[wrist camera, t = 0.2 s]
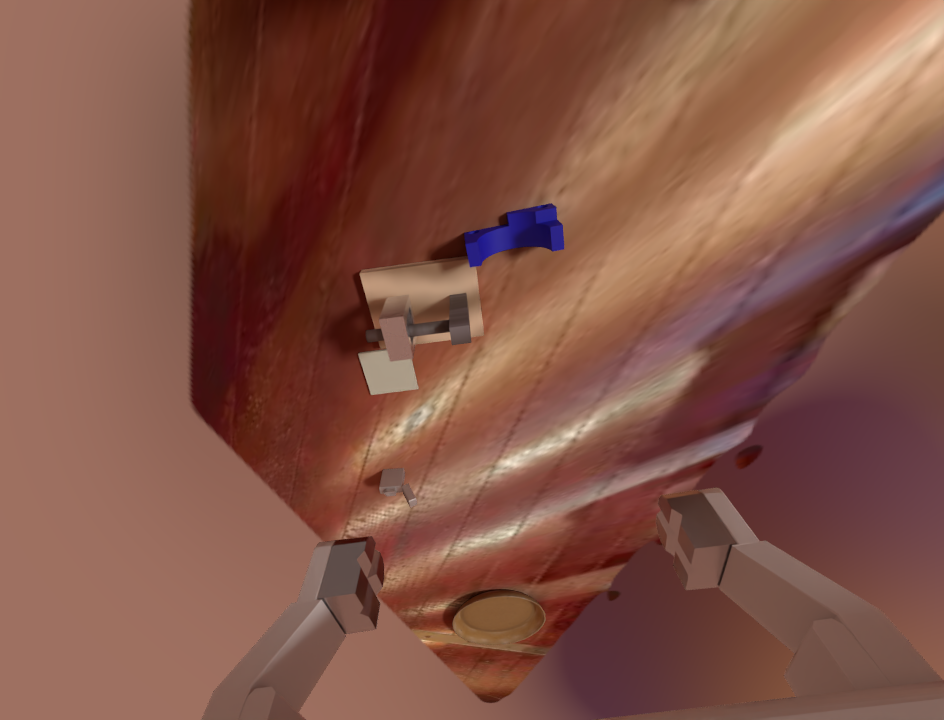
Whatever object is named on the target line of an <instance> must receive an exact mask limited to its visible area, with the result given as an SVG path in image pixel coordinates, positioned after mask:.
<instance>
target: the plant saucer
mask: <svg viewBox="0 0 944 720" xmlns="http://www.w3.org/2000/svg"><path fill="white" fill-rule="evenodd" d="M544 622H545V612H544V610H543V609H542V607H541V606H540V605H539V603H538V602H537V601H535V600H534V599H533V598H531V597H530V596H528V595H526V594H523V593H520V592H517V591H511V590H495V591H489V592H485V593H481V594H479V595H477V596H474V597H473V598H471V599H469V600H468V601H467V602H465V603H464V604H463V605H462V606H461V607H460V608H459V610H458V611H457V613H456V614H455V617H454V619H453V629H454V631H455V633H456V634H457V635H458V636H460V637H461V638H463V639H464V640H466V641H469V642H472V643H476V644H481V645H504V644H510V643H514V642H518V641H521V640H523V639H526V638H528V637H530V636H532V635H533V634H534V633H536V632H537V631H538V630H539V629H540V628H541V627H542V626H543V624H544Z"/></svg>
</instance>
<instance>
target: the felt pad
mask: <svg viewBox="0 0 944 720" xmlns="http://www.w3.org/2000/svg"><path fill="white" fill-rule="evenodd" d="M358 355H359V358H360V362H361V365H362V368H363V371H364V374H365V377H366V381H367V384H368V387H369V390H370V393H371V395H374V394H382V393H390V392H398V391H406V390H414V389H418V384H417V380H416V376H415V371H414V367H413V363H412V359H407V360H399V361H391V362H390V360H389V356H388V352H387V349H385V350H377V351H369V352H361V353H358Z"/></svg>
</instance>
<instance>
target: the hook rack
mask: <svg viewBox="0 0 944 720" xmlns="http://www.w3.org/2000/svg"><path fill="white" fill-rule="evenodd" d="M359 274H360V277H361V281H362V285H363V288H364V292H365V295H366V299H367V302H368V306H369V310H370V313H371V317H372V320H373V324H374V327H375V329H372V330H366V339H367V342H376V341H378V342H379V345H380V349H383V348H386V345H385V341H384V337H383V334H382V330H381V326H380V323H379V317H380V315H381V312H382V309H383V307H384V304H385V301H386V299H387V297H394V296H402V295H409V298H410V302H411V307H412V311H413V316H414V321H415V324H411V325H407V326H408V330H409V335H410V337H415V336H417V339H416V344H422V343H430V342H438V341H446V340H451V342H452V345H457V344H464V343H471V337H477V336H484V330H483V322H482V313H481V305H480V296H479V288H478V280H477V271H476V267H471V268H470V265H469V260H468V256H463V257H456V258H448V259H441V260H433V261H426V262H418V263H411V264H403V265H396V266H388V267H381V268H373V269H366V270H361V272H360V273H359Z"/></svg>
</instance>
